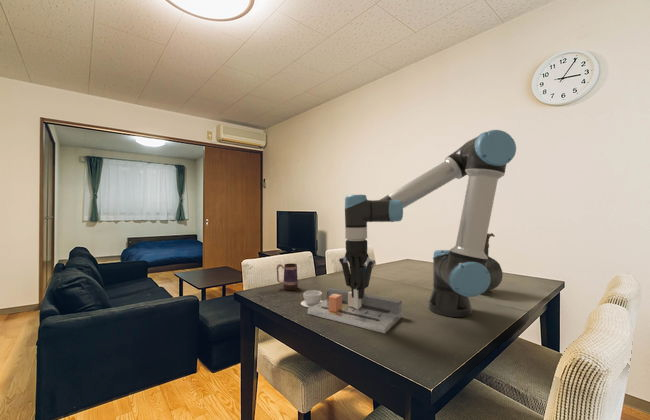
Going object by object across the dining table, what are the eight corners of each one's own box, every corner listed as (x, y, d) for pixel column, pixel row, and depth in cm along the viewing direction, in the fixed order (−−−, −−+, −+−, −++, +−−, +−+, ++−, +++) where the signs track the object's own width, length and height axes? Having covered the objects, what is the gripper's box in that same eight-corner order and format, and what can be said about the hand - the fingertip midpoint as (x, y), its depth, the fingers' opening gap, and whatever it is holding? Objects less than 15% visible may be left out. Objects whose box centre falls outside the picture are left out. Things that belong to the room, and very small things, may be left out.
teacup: (329, 303, 119) (329, 291, 119) (315, 310, 111) (315, 298, 111) (310, 298, 125) (310, 288, 125) (295, 305, 117) (295, 293, 117)
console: (401, 317, 103) (401, 300, 103) (384, 333, 90) (384, 314, 90) (330, 301, 120) (330, 287, 120) (307, 313, 107) (307, 297, 107)
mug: (297, 286, 144) (297, 262, 144) (298, 290, 137) (298, 265, 137) (277, 287, 142) (276, 262, 142) (276, 291, 135) (276, 265, 135)
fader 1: (342, 308, 106) (342, 294, 106) (335, 312, 102) (335, 297, 102) (334, 307, 107) (334, 292, 107) (328, 310, 104) (328, 296, 104)
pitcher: (487, 299, 124) (487, 229, 123) (454, 287, 142) (454, 226, 141) (506, 296, 127) (506, 228, 126) (472, 285, 145) (472, 225, 145)
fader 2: (360, 304, 110) (360, 290, 110) (355, 307, 107) (355, 293, 107) (353, 302, 112) (353, 289, 112) (347, 305, 108) (347, 292, 108)
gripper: (378, 239, 99) (379, 307, 100) (345, 237, 107) (346, 301, 107) (369, 241, 93) (370, 314, 93) (334, 239, 100) (335, 307, 100)
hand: (357, 307), depth 100 cm, fingers closed
